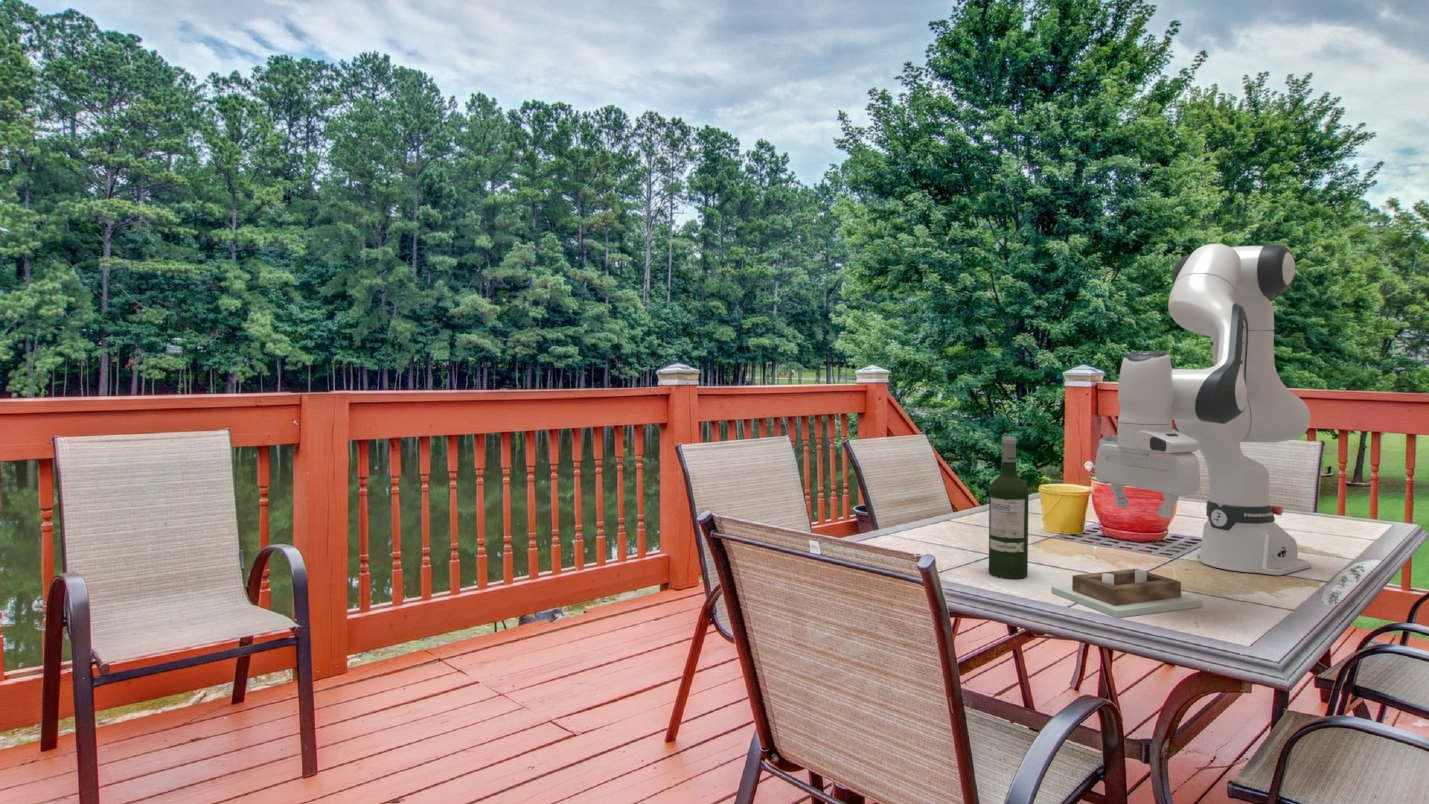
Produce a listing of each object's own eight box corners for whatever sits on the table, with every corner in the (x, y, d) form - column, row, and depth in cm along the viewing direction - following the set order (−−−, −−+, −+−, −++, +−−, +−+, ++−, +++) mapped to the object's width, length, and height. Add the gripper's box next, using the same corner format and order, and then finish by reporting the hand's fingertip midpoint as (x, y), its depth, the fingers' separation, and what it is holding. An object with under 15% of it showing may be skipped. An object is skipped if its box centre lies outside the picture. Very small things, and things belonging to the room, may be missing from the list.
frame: (1136, 583, 149) (1136, 568, 149) (1180, 597, 140) (1181, 581, 140) (1072, 590, 145) (1072, 575, 144) (1114, 605, 135) (1114, 589, 135)
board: (1130, 583, 153) (1130, 558, 153) (1201, 606, 138) (1202, 579, 138) (1051, 592, 147) (1051, 566, 147) (1117, 617, 132) (1117, 589, 132)
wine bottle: (990, 578, 158) (991, 438, 157) (987, 568, 166) (988, 435, 165) (1030, 580, 156) (1031, 438, 155) (1025, 570, 164) (1026, 435, 163)
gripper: (1087, 434, 147) (1086, 503, 147) (1179, 444, 127) (1177, 524, 128) (1112, 432, 149) (1111, 501, 149) (1207, 443, 129) (1205, 521, 130)
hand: (1142, 511), depth 138 cm, fingers open, 8 cm apart
